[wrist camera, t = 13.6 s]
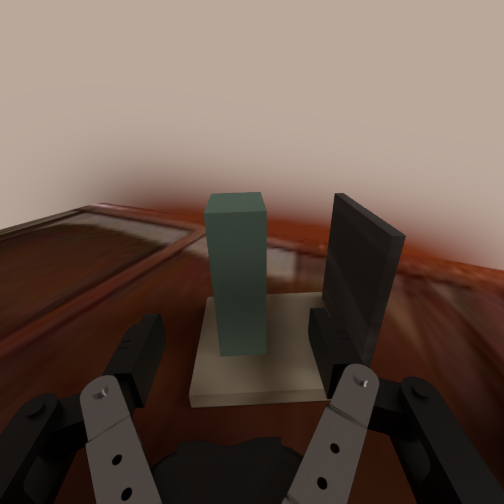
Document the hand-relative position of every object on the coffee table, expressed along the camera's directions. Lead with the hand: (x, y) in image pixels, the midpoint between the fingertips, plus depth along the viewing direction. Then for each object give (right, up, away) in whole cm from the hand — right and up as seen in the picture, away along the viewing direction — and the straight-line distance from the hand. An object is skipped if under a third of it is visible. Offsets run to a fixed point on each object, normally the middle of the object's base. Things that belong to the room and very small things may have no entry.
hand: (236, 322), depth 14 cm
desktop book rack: (+3, -5, +11) cm, 13 cm away
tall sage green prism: (0, -4, +11) cm, 11 cm away
